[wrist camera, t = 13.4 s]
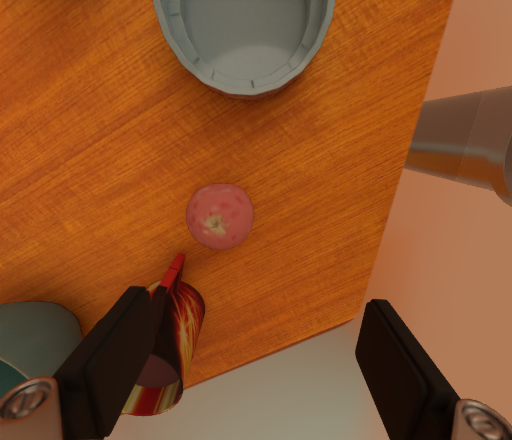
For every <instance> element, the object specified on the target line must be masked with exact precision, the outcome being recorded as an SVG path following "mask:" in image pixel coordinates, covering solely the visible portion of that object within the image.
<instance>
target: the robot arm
mask: <svg viewBox="0 0 512 440" xmlns="http://www.w3.org/2000/svg"><path fill="white" fill-rule="evenodd" d="M154 344H155V335H154V326H153V317H152V308H151V299H150V292H149V291H148V290H146V288H145V287H139V286H130V287H129V288H128V289H127V290H126V291H125V293H124V294H123V295H122V296H121V297H120V299H119V300H118V301H117V302H116V303H115V304H114V306H113V307H112V308H111V309H110V310H109V312H108V313H107V314H106V315H105V316H104V318H102V319H101V320H100V321H99V322H98V323H97V324H96V325H95V326H94V327H93V329H92V330H91V331H90V332H89V333H88V334H87V336H86V337H85V338H84V339H83V340H82V342H81V343H80V344H79V345H78V346H77V347H76V349H75V350H74V351H73V352H72V353H71V354H70V356H69V357H68V358H67V359H66V360H65V362H64V363H63V364H62V365H61V366H60V367H59V369H58V370H57V371H56V372H55V373H54V374H53V376H52V377H50V376H40V377H35V378H32V379H29V380H26V381H24V382H22V383H21V384H19V385H17V386H15V387H14V388H13V389H11V390H10V391H8V392H7V393H6V394H5V395H4V396H3V397H2V398H1V399H0V440H103V439H104V437H108V436H109V435H110V434H111V432H112V430H113V428H114V426H115V424H116V422H117V420H118V418H119V416H120V414H121V412H122V410H123V408H124V406H125V404H126V402H127V400H128V398H129V396H130V394H131V392H132V390H133V388H134V386H135V384H136V382H137V380H138V378H139V376H140V374H141V372H142V370H143V368H144V366H145V364H146V362H147V360H148V358H149V356H150V354H151V352H152V350H153V347H154ZM355 354H356V359H357V362H358V364H359V366H360V369H361V371H362V374H363V376H364V379H365V381H366V383H367V386H368V388H369V391H370V393H371V395H372V398H373V400H374V402H375V405H376V407H377V410H378V412H379V415H380V417H381V419H382V422H383V424H384V427H385V428H386V431H387V433H388V436H389V439H390V440H512V426H511V424H510V423H509V422H508V421H507V420H506V419H505V418H504V417H503V416H501V415H500V414H499V413H498V412H497V411H495V410H494V409H492V408H490V407H489V406H487V405H486V404H483V403H481V402H479V401H476V400H472V399H460V397H459V396H458V395H457V393H456V392H455V390H454V389H453V388H452V386H451V385H450V384H449V382H448V381H447V380H446V379H445V377H444V376H443V374H442V373H441V372H440V370H439V369H438V368H437V366H436V365H435V364H434V362H433V361H432V359H431V358H430V357H429V355H428V354H427V353H426V351H425V350H424V349H423V347H422V346H421V345H420V343H419V342H418V341H417V339H416V338H415V337H414V335H413V334H412V333H411V331H410V330H409V329H408V327H407V326H406V325H405V323H404V322H403V320H402V319H401V318H400V317H399V315H398V314H397V312H396V311H395V310H394V308H393V307H392V306H391V305H390V303H389V302H388V301H387V300H381V299H372V300H371V301H370V302H368V303H367V304H366V308H365V312H364V316H363V320H362V325H361V329H360V333H359V337H358V342H357V345H356V350H355Z"/></svg>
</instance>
